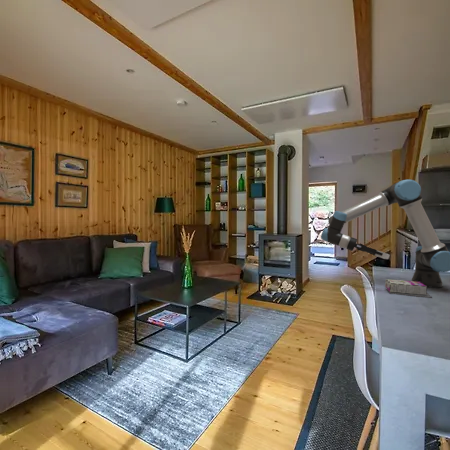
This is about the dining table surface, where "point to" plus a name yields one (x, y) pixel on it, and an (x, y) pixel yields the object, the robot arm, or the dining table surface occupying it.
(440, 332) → the dining table surface
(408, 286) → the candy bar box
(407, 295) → the rubber mat
